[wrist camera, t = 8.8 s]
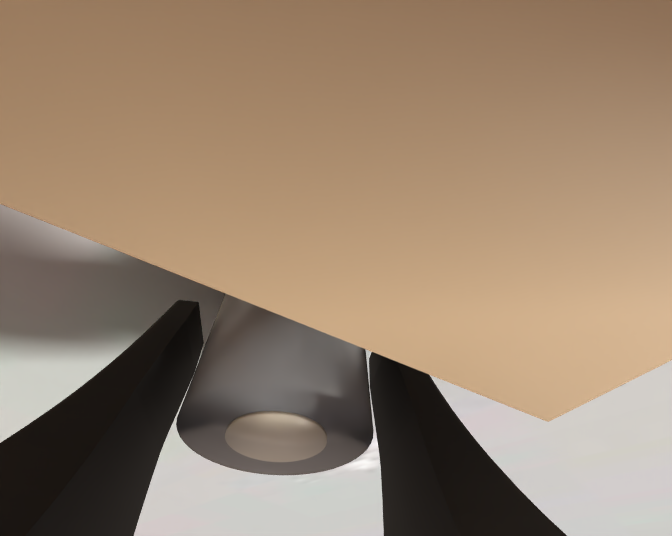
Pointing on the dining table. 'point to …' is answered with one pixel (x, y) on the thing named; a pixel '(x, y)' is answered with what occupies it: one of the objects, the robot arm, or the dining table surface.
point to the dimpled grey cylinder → (276, 395)
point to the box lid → (372, 170)
